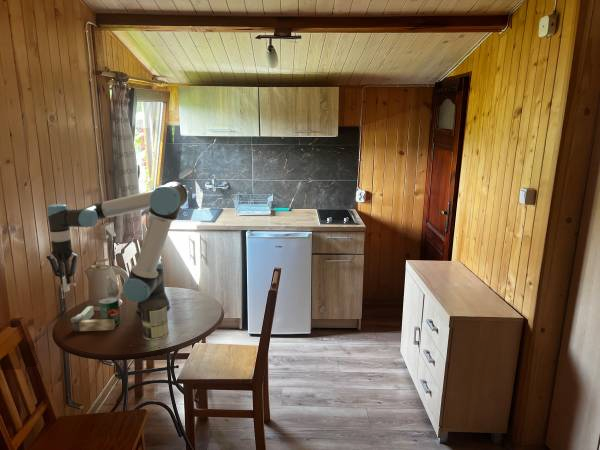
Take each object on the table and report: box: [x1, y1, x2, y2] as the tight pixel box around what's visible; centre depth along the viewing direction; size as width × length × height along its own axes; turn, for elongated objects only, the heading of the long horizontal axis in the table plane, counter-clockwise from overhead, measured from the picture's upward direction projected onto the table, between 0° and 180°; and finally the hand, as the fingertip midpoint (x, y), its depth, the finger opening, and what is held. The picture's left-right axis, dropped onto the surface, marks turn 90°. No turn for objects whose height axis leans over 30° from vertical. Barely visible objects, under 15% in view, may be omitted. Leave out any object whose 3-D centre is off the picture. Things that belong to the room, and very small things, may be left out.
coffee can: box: [140, 299, 169, 341], centre depth 182 cm, size 10×10×14 cm
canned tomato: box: [98, 296, 122, 326], centre depth 193 cm, size 8×8×11 cm
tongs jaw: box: [70, 305, 95, 324], centre depth 193 cm, size 18×4×5 cm, turn 4°
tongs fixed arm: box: [71, 318, 116, 332], centre depth 188 cm, size 17×3×4 cm, turn 94°
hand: (66, 290), depth 194 cm, fingers closed
